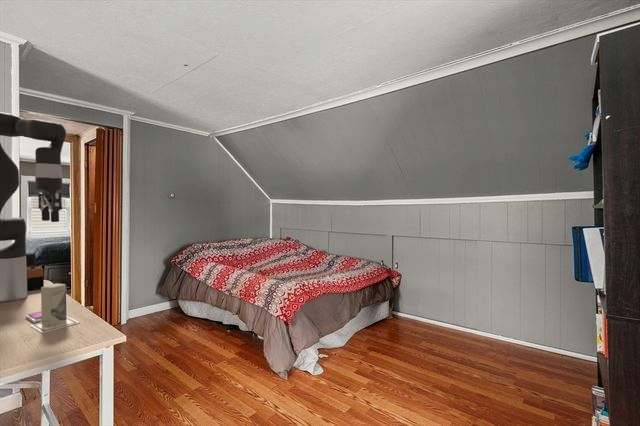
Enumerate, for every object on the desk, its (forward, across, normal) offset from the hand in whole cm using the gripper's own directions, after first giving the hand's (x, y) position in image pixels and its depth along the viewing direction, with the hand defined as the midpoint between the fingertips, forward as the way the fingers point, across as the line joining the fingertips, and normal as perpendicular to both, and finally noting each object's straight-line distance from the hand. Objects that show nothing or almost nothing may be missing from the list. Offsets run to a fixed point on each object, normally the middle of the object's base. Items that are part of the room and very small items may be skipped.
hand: (50, 221), depth 119 cm
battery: (+33, -40, +6) cm, 52 cm away
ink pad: (+33, +6, -4) cm, 34 cm away
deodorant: (+33, -48, +6) cm, 59 cm away
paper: (+33, +17, -5) cm, 38 cm away
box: (+33, +17, -5) cm, 37 cm away
